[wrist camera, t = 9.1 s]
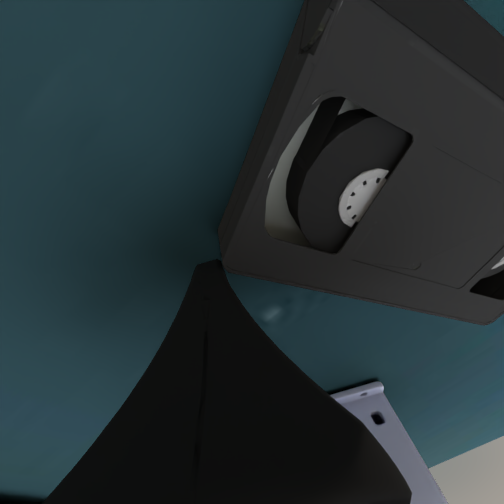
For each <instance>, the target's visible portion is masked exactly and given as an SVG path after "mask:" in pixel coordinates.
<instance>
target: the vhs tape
mask: <svg viewBox="0 0 504 504" xmlns="http://www.w3.org/2000/svg"><path fill="white" fill-rule="evenodd" d="M218 236H219V243H220V250H221V256H222V263H223V267H224V268H225V269H226V270H227V271H228V273H233V274H238V275H243V276H248V277H252V278H257V279H262V280H267V281H272V282H277V283H281V284H286V285H291V286H296V287H301V288H305V289H310V290H315V291H320V292H325V293H330V294H334V295H339V296H344V297H349V298H354V299H359V300H363V301H368V302H373V303H378V304H383V305H387V306H392V307H397V308H402V309H407V310H412V311H416V312H421V313H426V314H431V315H436V316H441V317H445V318H450V319H455V320H460V321H465V322H469V323H474V324H479V325H488V324H490V323H492V322H494V321H495V320H496V319H497V318H499V317H500V316H501V315H502V314H503V313H504V36H502V35H501V34H500V33H499V32H498V31H497V30H496V29H495V28H494V27H492V26H491V25H490V24H489V23H488V22H487V21H486V20H485V19H484V18H482V17H481V16H480V15H479V14H478V13H477V12H476V11H475V10H474V9H473V8H471V7H470V6H469V5H468V4H467V3H466V2H465V1H464V0H305V1H304V3H303V6H302V9H301V11H300V14H299V17H298V19H297V22H296V25H295V27H294V30H293V33H292V35H291V38H290V41H289V43H288V46H287V48H286V51H285V54H284V56H283V59H282V62H281V64H280V67H279V70H278V72H277V75H276V78H275V80H274V83H273V86H272V88H271V91H270V94H269V96H268V99H267V102H266V104H265V107H264V109H263V112H262V115H261V117H260V120H259V123H258V125H257V128H256V131H255V133H254V136H253V139H252V141H251V144H250V147H249V149H248V152H247V155H246V157H245V160H244V162H243V165H242V168H241V170H240V173H239V176H238V178H237V181H236V184H235V186H234V189H233V192H232V194H231V197H230V200H229V202H228V205H227V207H226V209H225V212H224V215H223V217H222V220H221V222H220V225H219V228H218Z"/></svg>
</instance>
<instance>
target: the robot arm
mask: <svg viewBox="0 0 504 504" xmlns="http://www.w3.org/2000/svg"><path fill="white" fill-rule="evenodd" d="M383 390H384V386H383V385H382V383H381V382H379V381H376V382H372V383H369V384H365V385H362V386H359V387H355V388H352V389H349V390H345V391H342V392H338V393H335V394H332V395H329V394H328V393H326V392H325V391H324V390H323V389H322V388H321V387H320V386H318V385H317V384H316V383H315V382H314V381H313V380H312V379H310V378H309V377H308V376H307V375H306V374H305V373H304V372H303V371H302V370H301V369H300V368H299V367H298V366H297V365H296V364H295V363H293V362H292V361H291V360H290V359H289V358H288V357H287V356H286V355H285V354H284V353H283V352H282V351H281V350H280V349H279V348H278V347H277V346H276V345H275V344H274V342H273V341H272V340H271V339H270V338H269V337H268V336H267V335H266V334H265V332H264V331H263V330H262V329H261V328H260V327H259V326H258V324H257V323H256V322H255V321H254V319H253V318H252V317H251V316H250V314H249V313H248V312H247V310H246V309H245V307H244V306H243V305H242V303H241V302H240V300H239V299H238V297H237V296H236V294H235V292H234V291H233V289H232V288H231V286H230V284H229V282H228V280H227V277H226V274H225V271H224V268H223V265H222V262H221V261H220V260H218V259H216V260H212V261H208V262H205V263H201V264H197V266H196V268H195V270H194V273H193V276H192V279H191V282H190V284H189V287H188V290H187V292H186V295H185V297H184V299H183V301H182V304H181V306H180V308H179V311H178V313H177V315H176V317H175V319H174V321H173V323H172V325H171V327H170V329H169V331H168V333H167V335H166V337H165V339H164V341H163V342H162V344H161V346H160V348H159V350H158V351H157V353H156V355H155V356H154V358H153V360H152V361H151V363H150V365H149V366H148V368H147V370H146V371H145V373H144V374H143V376H142V377H141V379H140V380H139V382H138V383H137V385H136V386H135V388H134V389H133V391H132V392H131V394H130V395H129V397H128V398H127V399H126V401H125V402H124V404H123V405H122V406H121V408H120V409H119V410H118V412H117V413H116V414H115V416H114V417H113V418H112V420H111V421H110V422H109V424H108V425H107V426H106V427H105V429H104V430H103V431H102V433H101V434H100V435H99V436H98V438H97V439H96V440H95V442H94V443H93V444H92V446H91V447H90V448H89V449H88V451H87V452H86V453H85V454H84V455H83V457H82V458H81V459H80V460H79V462H78V463H77V464H76V465H75V466H74V468H73V469H72V470H71V471H70V472H69V473H68V474H67V476H66V477H65V478H64V479H63V480H62V481H61V483H60V484H59V485H58V486H57V487H56V488H55V489H54V491H53V492H52V493H51V494H50V495H49V496H48V497H47V499H46V500H45V501H44V502H43V503H42V504H448V502H447V500H446V499H445V497H444V495H443V494H442V491H441V490H440V488H439V486H438V485H437V483H436V481H435V480H434V478H433V476H432V474H431V473H430V471H429V469H428V468H427V466H426V464H425V462H424V461H423V459H422V457H421V456H420V454H419V452H418V451H417V449H416V447H415V445H414V444H413V442H412V440H411V439H410V437H409V435H408V434H407V432H406V430H405V428H404V427H403V425H402V423H401V422H400V420H399V418H398V417H397V415H396V413H395V411H394V410H393V408H392V406H391V405H390V403H389V401H388V400H387V398H386V396H385V395H384V393H383Z"/></svg>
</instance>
